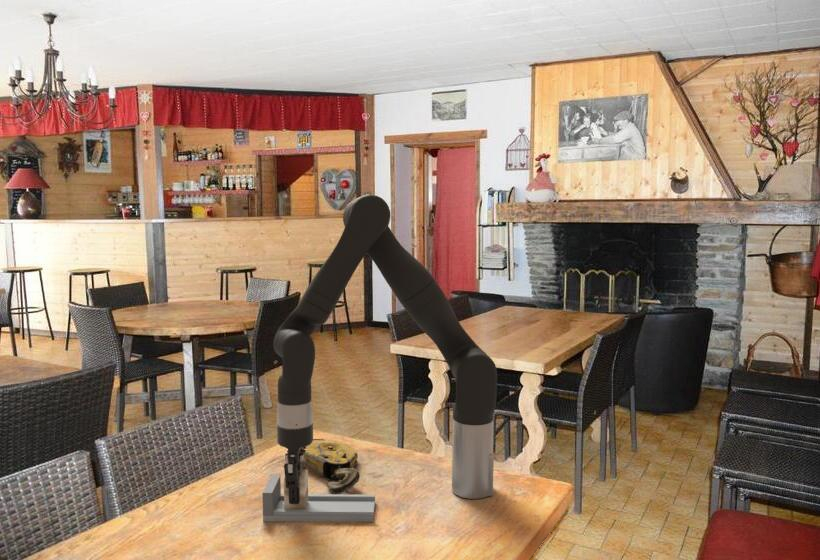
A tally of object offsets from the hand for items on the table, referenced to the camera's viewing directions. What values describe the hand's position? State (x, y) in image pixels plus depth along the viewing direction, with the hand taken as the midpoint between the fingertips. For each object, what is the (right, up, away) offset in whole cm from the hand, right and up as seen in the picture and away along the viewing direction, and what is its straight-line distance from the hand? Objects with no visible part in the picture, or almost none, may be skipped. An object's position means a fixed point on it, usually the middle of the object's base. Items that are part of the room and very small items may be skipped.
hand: (296, 497), depth 146 cm
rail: (+5, -3, 0) cm, 6 cm away
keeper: (0, -2, 0) cm, 2 cm away
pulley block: (+5, -1, +22) cm, 22 cm away
